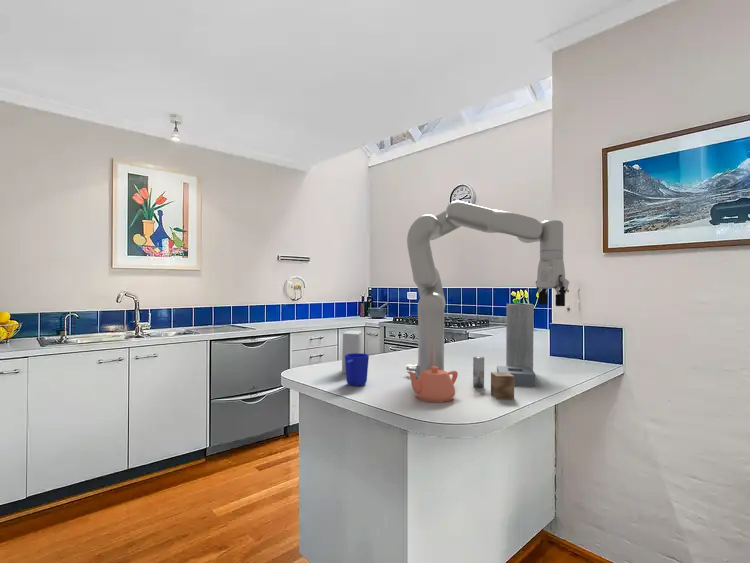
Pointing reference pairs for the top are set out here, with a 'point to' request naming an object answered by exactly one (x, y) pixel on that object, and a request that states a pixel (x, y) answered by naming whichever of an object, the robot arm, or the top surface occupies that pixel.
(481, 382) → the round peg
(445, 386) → the teapot
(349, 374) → the mug
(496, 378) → the square peg
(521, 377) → the socket block
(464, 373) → the top surface
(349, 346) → the skincare box
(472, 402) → the top surface
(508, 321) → the vase
